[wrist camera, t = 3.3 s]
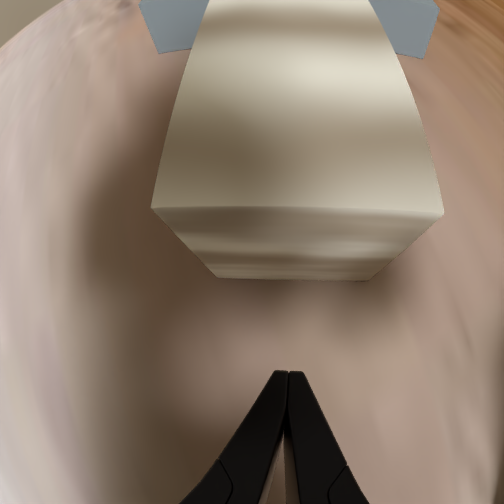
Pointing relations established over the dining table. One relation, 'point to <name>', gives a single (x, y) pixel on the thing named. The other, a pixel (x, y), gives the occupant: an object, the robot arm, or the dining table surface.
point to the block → (295, 145)
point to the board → (383, 3)
